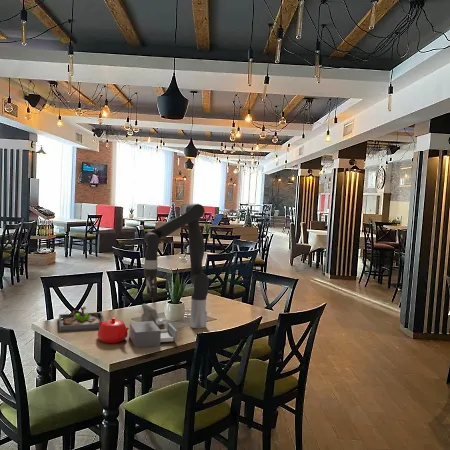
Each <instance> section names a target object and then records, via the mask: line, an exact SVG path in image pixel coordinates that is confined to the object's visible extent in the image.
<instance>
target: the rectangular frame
mask: <svg viewBox="0 0 450 450" xmlns="http://www.w3.org/2000/svg"><path fill="white" fill-rule="evenodd" d="M78 313H79V312H78ZM85 313H86V312H84V314H85ZM88 313H89V314H88V316H89V315H91V316H93V317H95V318H97V319H98V318H100V321H106V320H105V317H104V315H103V313H102V311H101V312H88ZM79 314H80V313H79ZM74 316H77V315H76V313H66V314H65V313H63V314H62V313H61V314H58V326H59V332H74V331H75V332H76V331H88V330H89V331H90V330H91V331H92V330H99V328H100V326H99V324H82V325H66V326H64V325H62V323H63V322H62V321H63V320H65V319H67V318H71V317H74ZM61 318H63V319H61Z"/></svg>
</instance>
